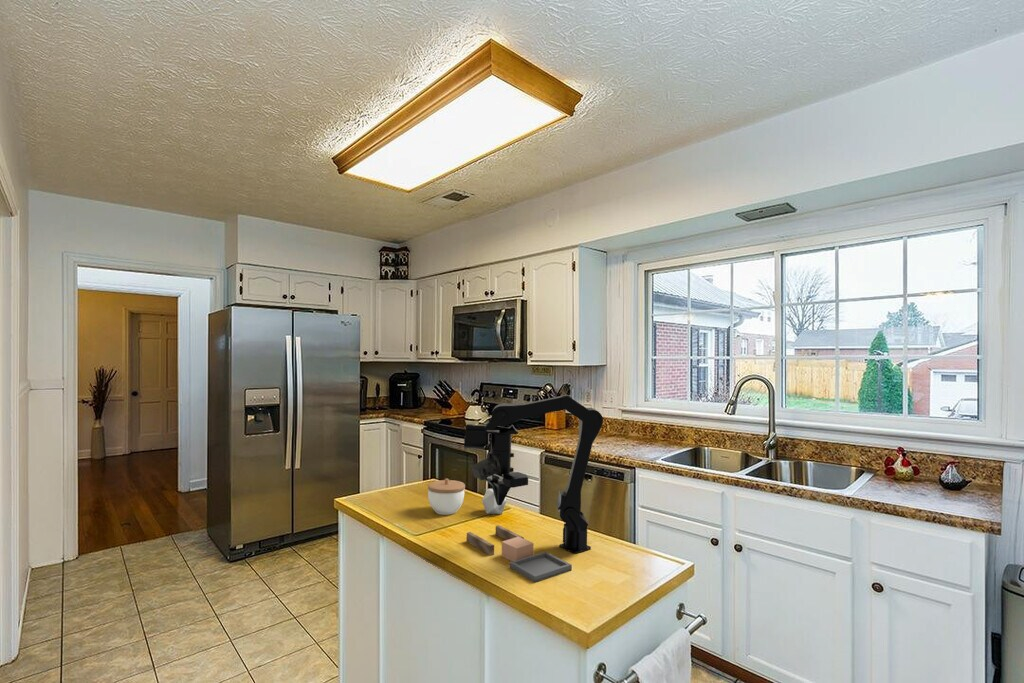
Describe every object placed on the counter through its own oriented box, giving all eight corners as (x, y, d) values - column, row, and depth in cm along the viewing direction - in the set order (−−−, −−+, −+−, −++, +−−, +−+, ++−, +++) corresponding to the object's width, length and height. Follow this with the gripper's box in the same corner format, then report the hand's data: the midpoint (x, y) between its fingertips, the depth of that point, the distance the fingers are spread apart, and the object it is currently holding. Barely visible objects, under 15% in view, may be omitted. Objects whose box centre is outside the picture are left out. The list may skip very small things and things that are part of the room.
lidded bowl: (451, 519, 163) (452, 485, 163) (419, 513, 168) (420, 480, 169) (471, 509, 174) (472, 477, 174) (440, 503, 180) (441, 472, 180)
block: (533, 558, 134) (533, 543, 134) (516, 564, 130) (516, 548, 131) (518, 551, 139) (518, 536, 139) (501, 556, 135) (501, 541, 135)
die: (497, 520, 165) (512, 494, 168) (475, 505, 167) (491, 480, 170) (497, 521, 173) (512, 497, 176) (476, 507, 174) (491, 483, 177)
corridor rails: (523, 546, 142) (523, 537, 142) (490, 555, 135) (490, 546, 135) (498, 533, 151) (498, 525, 151) (466, 541, 145) (466, 532, 145)
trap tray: (571, 570, 127) (571, 564, 127) (534, 582, 120) (535, 576, 120) (545, 556, 135) (545, 551, 135) (509, 567, 128) (509, 562, 128)
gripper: (459, 446, 145) (457, 501, 144) (496, 458, 130) (495, 519, 130) (490, 443, 151) (489, 495, 151) (530, 454, 137) (528, 512, 136)
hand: (499, 505), depth 142 cm, fingers closed
